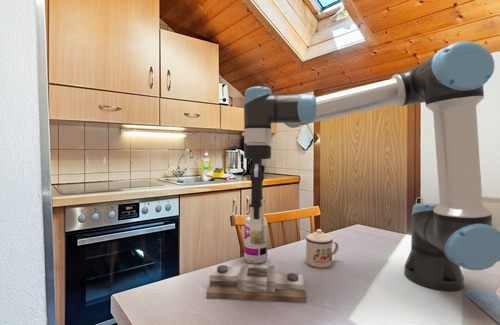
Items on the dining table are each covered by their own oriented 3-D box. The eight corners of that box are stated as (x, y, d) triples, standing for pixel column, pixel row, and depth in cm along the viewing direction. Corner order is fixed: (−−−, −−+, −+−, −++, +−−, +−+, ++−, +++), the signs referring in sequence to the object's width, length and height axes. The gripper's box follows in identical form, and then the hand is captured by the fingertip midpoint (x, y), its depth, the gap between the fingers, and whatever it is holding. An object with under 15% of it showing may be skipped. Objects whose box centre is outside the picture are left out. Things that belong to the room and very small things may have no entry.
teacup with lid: (313, 269, 89) (313, 234, 89) (301, 259, 98) (301, 227, 98) (345, 265, 92) (345, 232, 92) (330, 255, 101) (331, 224, 101)
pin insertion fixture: (301, 278, 83) (301, 261, 83) (306, 302, 70) (306, 281, 70) (216, 275, 85) (216, 258, 85) (206, 297, 72) (206, 277, 72)
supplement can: (247, 265, 92) (247, 222, 92) (241, 256, 100) (241, 216, 100) (270, 263, 95) (270, 220, 94) (262, 254, 103) (263, 214, 102)
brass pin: (259, 239, 80) (260, 198, 79) (266, 243, 76) (266, 200, 76) (247, 241, 78) (247, 199, 78) (253, 245, 74) (253, 201, 74)
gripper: (247, 145, 85) (246, 219, 86) (240, 143, 68) (240, 236, 69) (271, 145, 84) (270, 220, 85) (270, 144, 67) (270, 237, 68)
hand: (257, 227), depth 77 cm, fingers closed on brass pin, 4 cm apart
